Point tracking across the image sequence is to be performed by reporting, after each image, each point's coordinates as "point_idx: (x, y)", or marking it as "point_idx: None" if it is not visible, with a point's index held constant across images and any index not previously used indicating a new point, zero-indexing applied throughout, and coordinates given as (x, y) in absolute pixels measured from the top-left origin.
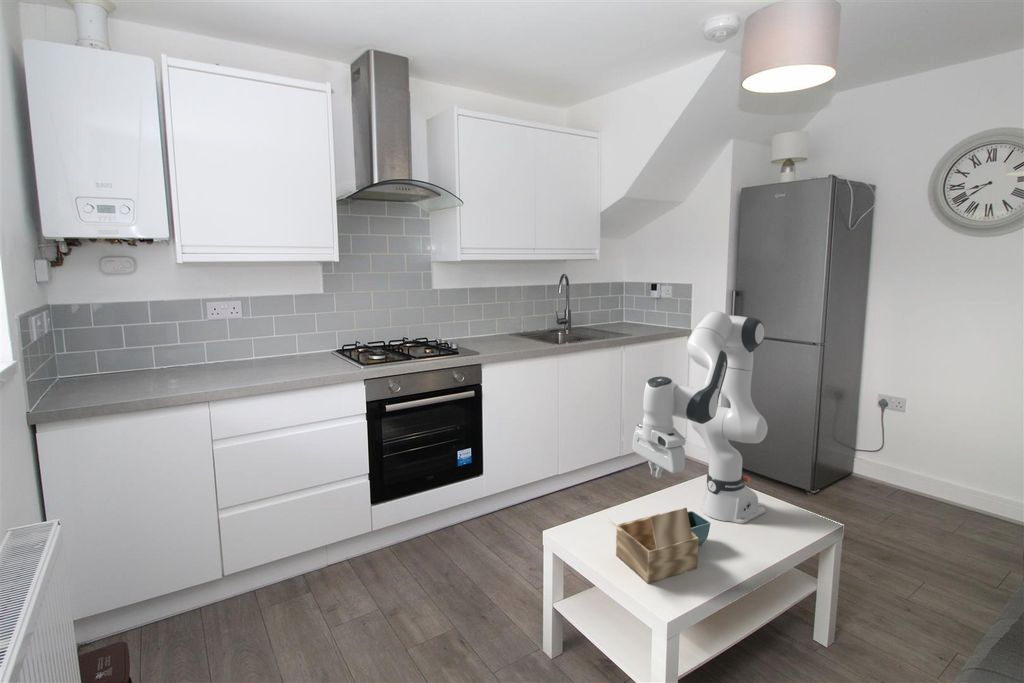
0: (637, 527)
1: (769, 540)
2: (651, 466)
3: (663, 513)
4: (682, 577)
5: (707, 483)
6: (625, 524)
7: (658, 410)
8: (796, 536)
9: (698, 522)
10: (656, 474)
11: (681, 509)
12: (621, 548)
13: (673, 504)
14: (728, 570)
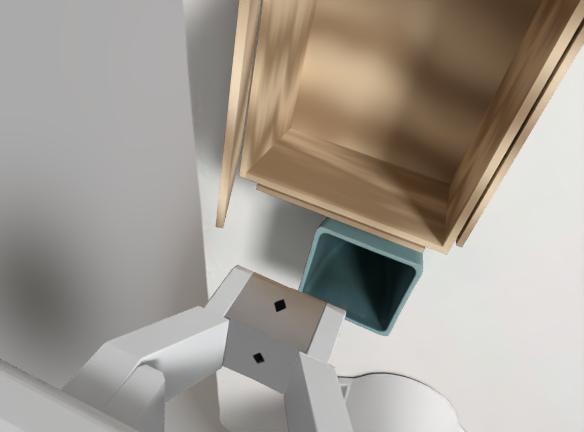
0: (515, 101)
1: None
2: (308, 402)
3: (236, 75)
4: None
5: None
6: (568, 24)
7: None
8: (238, 375)
9: (354, 300)
10: (225, 292)
11: (219, 195)
12: None
13: (544, 402)
14: (234, 180)
